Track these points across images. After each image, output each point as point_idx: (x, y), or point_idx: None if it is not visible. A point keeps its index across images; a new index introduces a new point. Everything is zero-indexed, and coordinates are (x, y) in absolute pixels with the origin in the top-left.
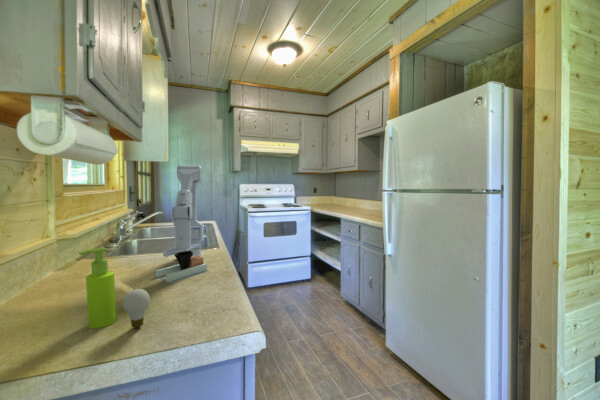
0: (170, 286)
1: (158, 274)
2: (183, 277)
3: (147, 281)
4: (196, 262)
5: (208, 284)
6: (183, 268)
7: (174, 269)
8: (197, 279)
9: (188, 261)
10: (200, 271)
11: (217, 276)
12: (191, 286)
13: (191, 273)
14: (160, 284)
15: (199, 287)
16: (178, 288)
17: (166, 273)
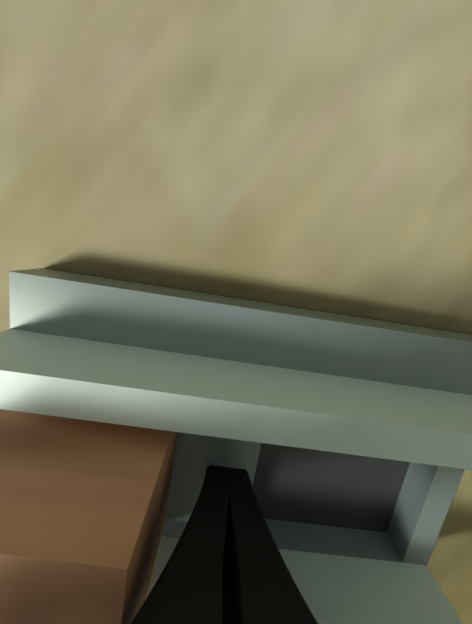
0: None
1: (436, 595)
2: (326, 369)
3: None
4: (50, 483)
5: (257, 32)
6: (255, 504)
7: None
8: (211, 275)
9: (178, 584)
10: (103, 344)
11: (24, 138)
12: (379, 174)
13: (226, 365)
14: None
15: (367, 62)
16: (464, 252)
17: (351, 572)
